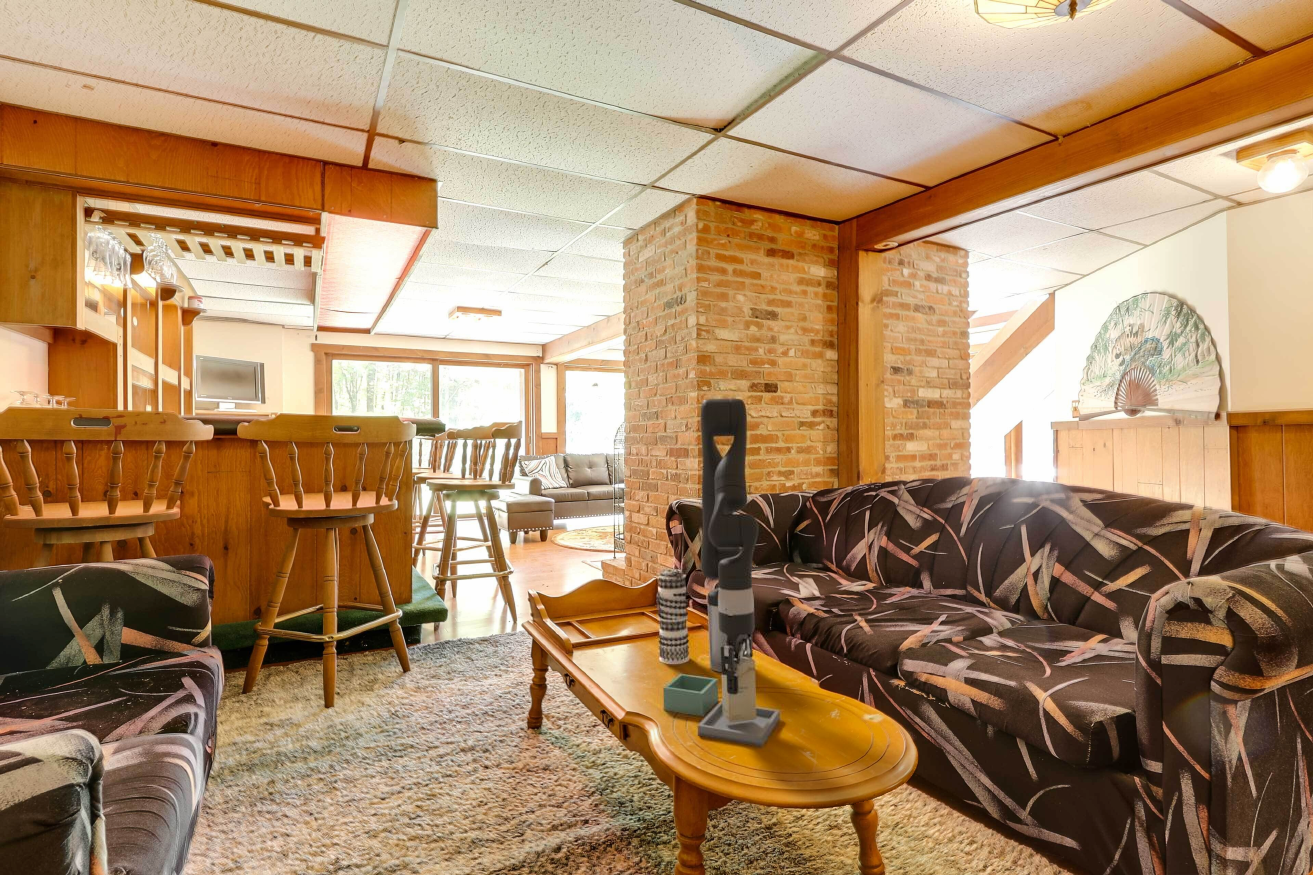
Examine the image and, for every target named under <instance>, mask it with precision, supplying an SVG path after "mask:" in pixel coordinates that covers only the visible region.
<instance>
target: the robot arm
mask: <svg viewBox="0 0 1313 875" xmlns="http://www.w3.org/2000/svg"><path fill="white" fill-rule="evenodd" d="M747 429H748V416H747V407H746V404H745V402H744V400H743V399H741V398H732V397H731V398H708V399H704V400H703V402H701V406H700V432H701V433H700V435H701V451H702V470H701V472H702V477H701V482H702V483H701V507H702V509H701V510H702V511H701V512H702V535H701V550H700V551H701V552H700V566H701V567H700V569H701V572H702V575H703V576H704V577H705V578H707V579H708V578H709V579H718V587H717V588H714V589H713V590H710V591H709V592H708V593H707V616H708V617H707V618H708V619H707V620H708V621H707V622H708V623H707V624H708V649H709V652H708V653H709V655H708V656H709V657H708V658H709V668H710V669H711V670H712V671H715V672H717V673H718V672H719V673H721V676H722V675H727V692H728V693H729V694H735V695H736V694H737V693H738V669H739V665H741V664H742V656H746V657H750V658H752V659H753V657H754V653H753V651H754V650H753V645H754V644H753V632H754V631H755V626H756V625H755V608H754V607H755V602H754V601H755V600H754V599H755V598H754V593H753V592H754V591H753V581H752V580H753V578H752V577H753V576H752V568H753V565H752V564H753V557H754V552H755V548H756V544H757V540H758V537H759V533H760V532H759V528H760V527H759V523H758V521H757V518H756V517H755V516H754V515H752V514H751V513H739V514H738V513H734V512H738V511H741V510H743V509H744V508H745V507H746V506H747V504H748V491H747V478H746V460H747V458H746V456H747V442H748V441H747V439H748V438H747V437H748V430H747ZM715 437H733V440H732V443H731V445H730V446H729V449H728V451H727V452H726V454H725V455H724V456H723V455H722V454H721V453H720V451H719V449H718V446H717V444H716V441H715ZM734 659H737V660H734ZM729 665H730V666H731V669H729Z"/></svg>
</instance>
